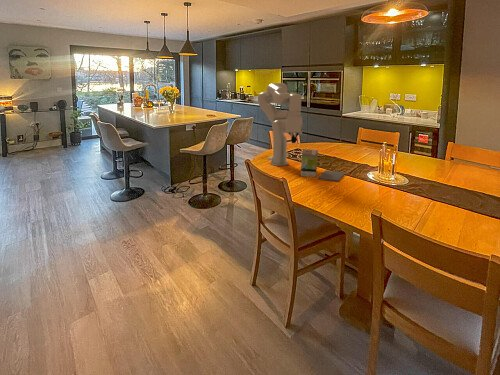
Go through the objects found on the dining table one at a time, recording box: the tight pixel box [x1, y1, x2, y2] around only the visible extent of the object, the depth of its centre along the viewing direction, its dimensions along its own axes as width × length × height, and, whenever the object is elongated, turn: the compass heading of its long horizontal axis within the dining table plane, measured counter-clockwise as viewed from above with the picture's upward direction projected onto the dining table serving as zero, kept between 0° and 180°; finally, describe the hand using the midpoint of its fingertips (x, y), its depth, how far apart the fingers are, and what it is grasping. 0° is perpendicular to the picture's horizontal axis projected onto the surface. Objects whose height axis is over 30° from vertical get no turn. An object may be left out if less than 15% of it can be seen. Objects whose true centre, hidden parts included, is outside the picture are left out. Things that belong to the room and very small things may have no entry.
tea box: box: [300, 148, 319, 178], centre depth 222 cm, size 15×10×15 cm
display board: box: [316, 169, 346, 183], centre depth 218 cm, size 13×18×1 cm
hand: (293, 142), depth 223 cm, fingers closed
